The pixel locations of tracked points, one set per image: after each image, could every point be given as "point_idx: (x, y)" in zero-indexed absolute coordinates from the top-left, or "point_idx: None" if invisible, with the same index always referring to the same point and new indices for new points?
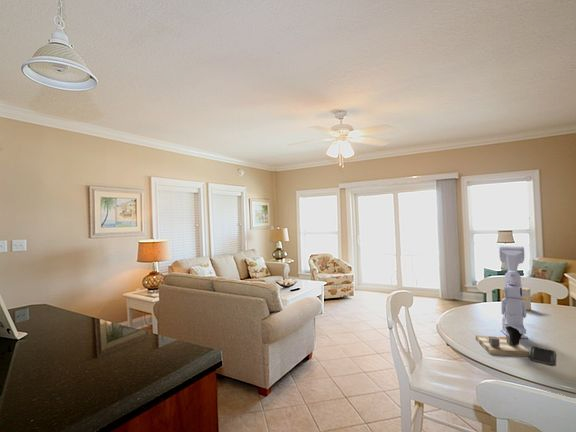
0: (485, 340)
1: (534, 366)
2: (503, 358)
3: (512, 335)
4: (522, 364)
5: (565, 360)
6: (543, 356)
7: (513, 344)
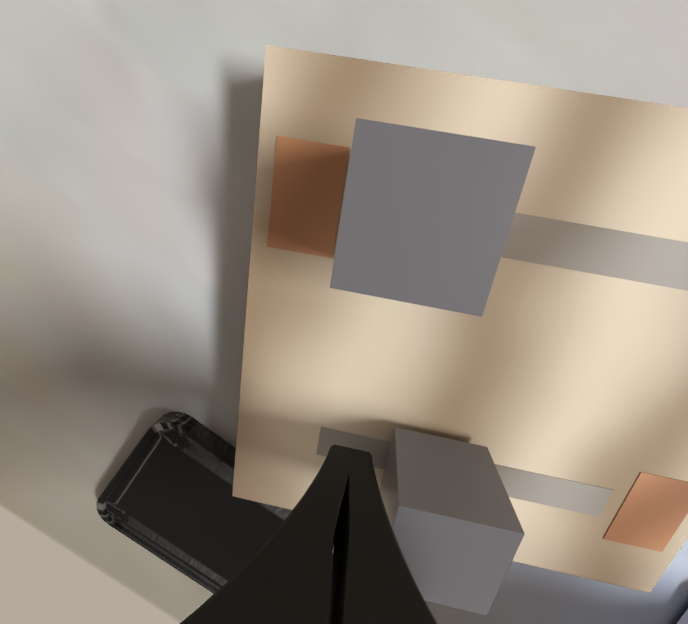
0: (630, 193)
1: (59, 364)
2: (179, 183)
3: (248, 567)
4: (74, 291)
5: None
6: (228, 542)
7: (330, 448)
